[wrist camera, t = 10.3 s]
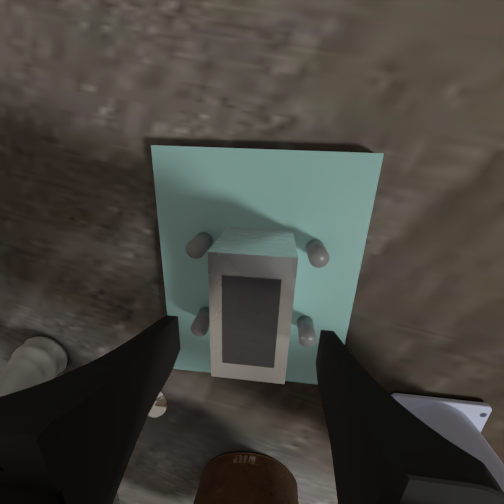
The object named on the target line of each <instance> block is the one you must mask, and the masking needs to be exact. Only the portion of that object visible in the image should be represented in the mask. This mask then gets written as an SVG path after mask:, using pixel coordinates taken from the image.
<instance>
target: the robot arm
mask: <svg viewBox="0 0 504 504" xmlns="http://www.w3.org/2000/svg"><path fill="white" fill-rule="evenodd" d="M180 349H181V348H180V335H179V322H178V316H170V315H166V316H165V317H163V318H161V319H160V320H159V321H157V322H156V323H154V324H153V325H151V326H150V327H148V328H147V329H146V330H144V331H143V332H141V333H140V334H138V335H137V336H135V337H134V338H132V339H131V340H129V341H127V342H126V343H124V344H122V345H121V346H119V347H118V348H116V349H114V350H113V351H111V352H109V353H107V354H106V355H104V356H102V357H100V358H98V359H96V360H94V361H92V362H90V363H88V364H86V365H84V366H82V367H79V368H77V369H75V370H73V371H71V372H68V373H66V374H64V375H61V376H59V377H56V378H54V379H51V380H49V381H46V382H43V383H41V384H38V385H35V386H32V387H30V388H27V389H23V390H20V391H17V392H14V393H11V394H8V395H5V396H1V397H0V504H113V501H114V499H115V496H116V493H117V490H118V488H119V485H120V483H121V480H122V477H123V475H124V472H125V469H126V467H127V464H128V462H129V459H130V457H131V454H132V452H133V449H134V447H135V444H136V442H137V439H138V437H139V435H140V432H141V430H142V428H143V425H144V423H145V421H146V418H147V416H148V414H149V412H150V410H151V408H152V406H153V405H154V403H155V401H156V399H157V397H158V395H159V393H160V392H161V390H162V388H163V386H164V384H165V382H166V380H167V379H168V377H169V375H170V373H171V371H172V369H173V367H174V364H175V362H176V359H177V357H178V354H179V351H180ZM316 372H317V381H318V387H319V392H320V396H321V401H322V405H323V410H324V414H325V419H326V423H327V428H328V432H329V438H330V443H331V450H332V458H333V465H334V473H335V482H336V490H337V499H338V504H504V464H503V463H502V461H501V460H500V459H499V457H498V456H497V455H496V453H495V452H494V451H493V449H492V448H491V446H490V445H489V444H488V442H487V441H486V440H485V438H484V437H483V436H482V434H481V433H480V432H481V430H482V428H483V426H484V424H485V423H486V421H487V419H488V417H489V415H490V413H491V411H492V409H491V407H490V406H489V405H488V404H487V403H483V402H474V401H465V400H456V399H447V398H438V397H429V396H419V395H410V394H401V393H393V394H392V395H390V394H389V393H388V392H387V391H386V390H385V389H383V388H382V387H381V386H380V385H379V384H378V383H377V382H376V381H375V380H374V379H373V378H372V377H371V376H370V374H369V373H368V372H367V371H366V370H365V369H364V368H363V367H362V366H361V364H360V363H359V362H358V361H357V360H356V359H355V357H354V356H353V355H352V354H351V353H350V351H349V350H348V349H347V347H346V346H345V345H344V344H343V342H342V341H341V340H340V338H339V337H338V336H337V334H336V333H335V332H334V331H329V330H321V332H320V338H319V345H318V351H317V357H316Z"/></svg>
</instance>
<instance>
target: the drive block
mask: <svg viewBox="0 0 504 504" xmlns="http://www.w3.org/2000/svg"><path fill="white" fill-rule="evenodd" d="M297 265H298V254H297V249H296V244H295V239H294V233H293V230H282V229H266V228H250V227H233V226H227V227H226V228H225V230H224V231H223V232H222V234H221V235H220V236H219V238H218V239H217V240H216V241H215V243H214V244H213V245H212V247H211V248H210V249H209V251H208V283H209V318H210V354H211V376H214V377H223V378H232V379H241V380H250V381H259V382H268V383H277V384H285V376H286V367H287V358H288V348H289V339H290V330H291V320H292V311H293V302H294V293H295V283H296V274H297Z"/></svg>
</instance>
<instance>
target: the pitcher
mask: <svg viewBox="0 0 504 504" xmlns="http://www.w3.org/2000/svg"><path fill="white" fill-rule="evenodd" d="M194 504H299V503H298V494H297V483H296V480H295V478H294V476H293V475H292V474H291V472H290V471H289V470H288V469H287V468H286V467H285V466H283V465H282V464H280V463H279V462H277V461H276V460H274V459H272V458H269V457H267V456H263V455H259V454H255V453H244V452H242V453H240V452H239V453H229V454H225V455H221V456H219V457H217V458H215V459H213V460H212V461H211V462H209V463H208V464H207V465H206V467H205V468H204V470H203V472H202V475H201V480H200V484H199V488H198V491H197V494H196V497H195V500H194Z"/></svg>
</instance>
